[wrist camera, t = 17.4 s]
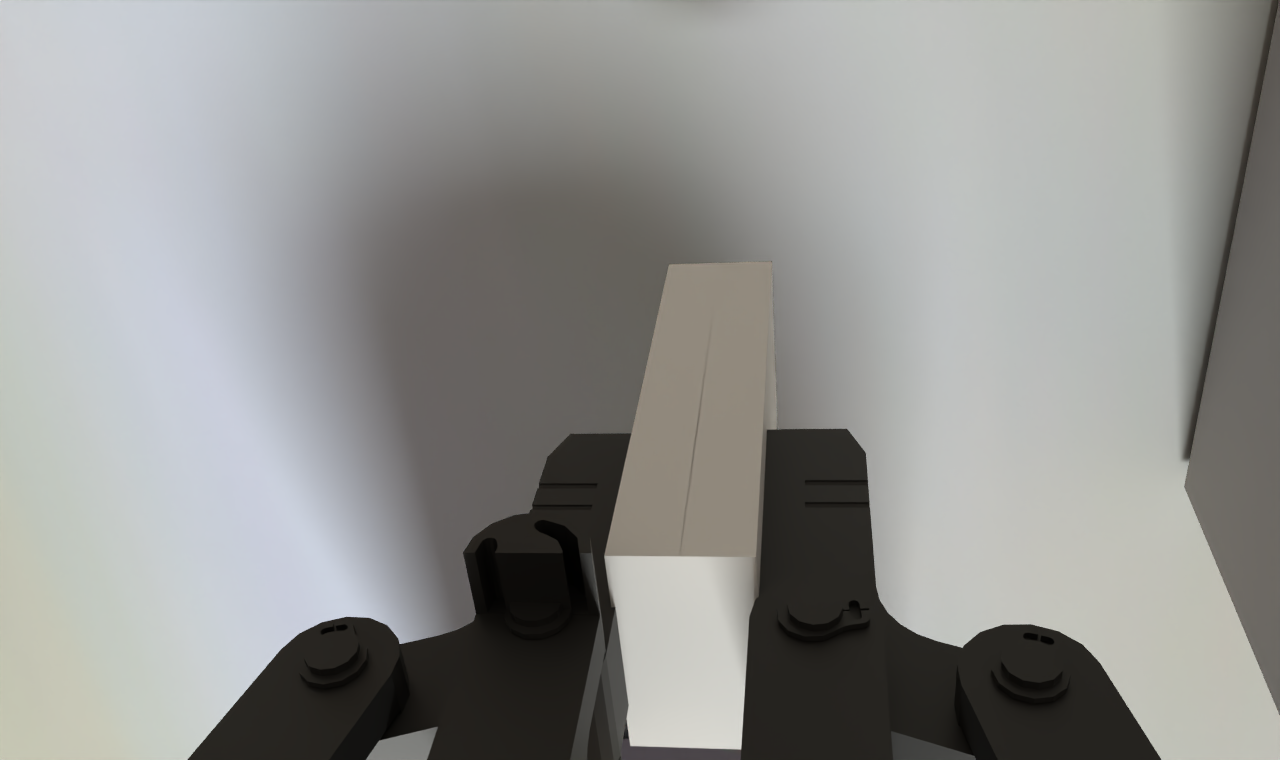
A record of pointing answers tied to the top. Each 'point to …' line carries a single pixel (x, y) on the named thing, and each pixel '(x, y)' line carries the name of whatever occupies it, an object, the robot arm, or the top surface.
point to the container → (676, 753)
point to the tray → (1248, 399)
